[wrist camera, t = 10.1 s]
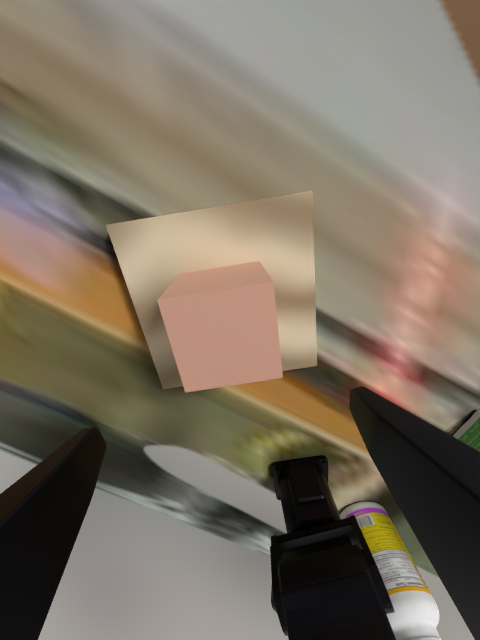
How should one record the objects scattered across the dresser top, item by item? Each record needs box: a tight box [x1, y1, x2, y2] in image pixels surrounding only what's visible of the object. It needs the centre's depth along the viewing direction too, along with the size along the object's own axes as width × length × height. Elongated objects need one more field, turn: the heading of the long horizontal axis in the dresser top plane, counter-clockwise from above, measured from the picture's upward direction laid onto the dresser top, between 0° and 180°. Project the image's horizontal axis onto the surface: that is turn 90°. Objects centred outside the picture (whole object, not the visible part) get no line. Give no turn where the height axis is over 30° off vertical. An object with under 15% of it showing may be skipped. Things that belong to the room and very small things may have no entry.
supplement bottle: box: [340, 501, 442, 640], centre depth 28 cm, size 7×7×13 cm
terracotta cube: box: [157, 261, 283, 393], centre depth 16 cm, size 6×6×6 cm
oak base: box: [106, 191, 317, 389], centre depth 20 cm, size 14×14×2 cm
